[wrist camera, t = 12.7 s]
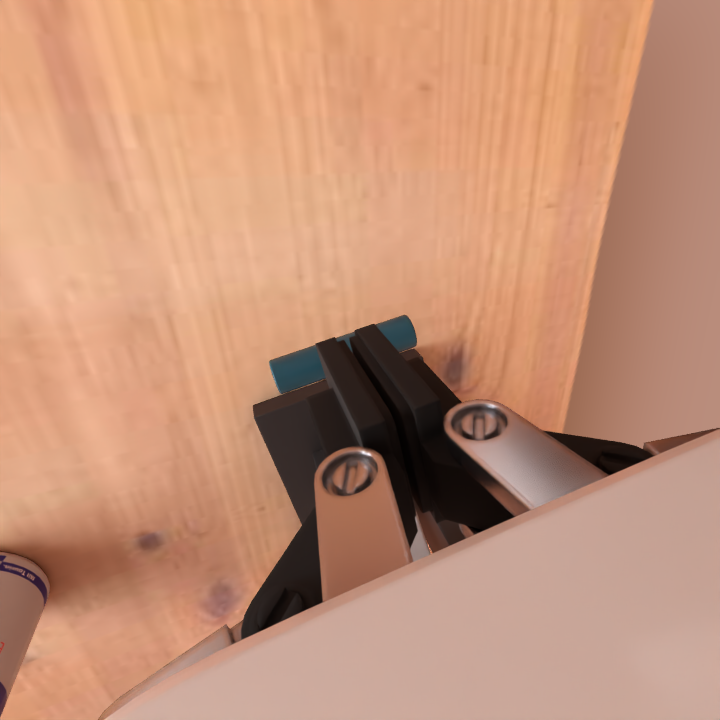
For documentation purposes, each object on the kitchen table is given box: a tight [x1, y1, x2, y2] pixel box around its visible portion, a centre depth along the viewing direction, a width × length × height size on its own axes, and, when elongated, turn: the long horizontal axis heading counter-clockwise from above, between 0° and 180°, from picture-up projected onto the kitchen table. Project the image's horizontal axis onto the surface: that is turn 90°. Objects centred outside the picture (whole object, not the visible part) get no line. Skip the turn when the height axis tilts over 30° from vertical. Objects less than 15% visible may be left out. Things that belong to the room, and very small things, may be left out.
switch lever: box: [269, 315, 431, 561], centre depth 15 cm, size 13×5×2 cm, turn 14°
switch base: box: [253, 349, 466, 553], centre depth 19 cm, size 11×9×13 cm
